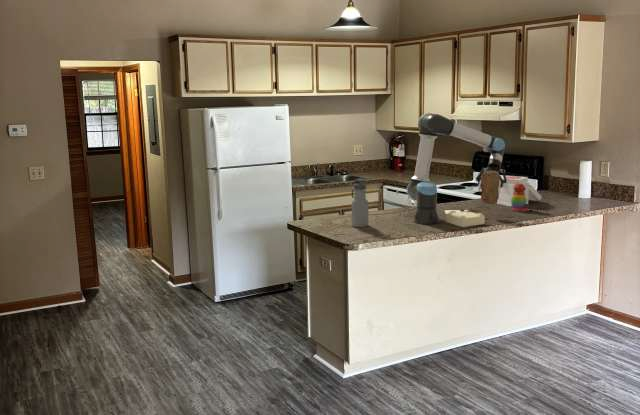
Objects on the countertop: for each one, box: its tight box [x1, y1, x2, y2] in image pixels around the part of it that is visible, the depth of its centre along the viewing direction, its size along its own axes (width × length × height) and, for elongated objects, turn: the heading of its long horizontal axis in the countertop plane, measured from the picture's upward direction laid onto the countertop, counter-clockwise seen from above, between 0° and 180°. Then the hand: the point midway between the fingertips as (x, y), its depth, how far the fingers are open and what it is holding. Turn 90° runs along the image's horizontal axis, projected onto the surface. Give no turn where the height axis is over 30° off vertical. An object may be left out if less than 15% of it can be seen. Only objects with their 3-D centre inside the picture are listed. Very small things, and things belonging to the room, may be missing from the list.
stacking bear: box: [510, 183, 529, 213], centre depth 399 cm, size 11×10×18 cm
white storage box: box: [496, 175, 542, 207], centre depth 424 cm, size 19×30×18 cm, turn 119°
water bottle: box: [351, 178, 369, 228], centre depth 363 cm, size 10×10×28 cm
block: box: [480, 170, 500, 205], centre depth 375 cm, size 11×8×20 cm
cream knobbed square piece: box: [445, 209, 486, 228], centre depth 366 cm, size 16×16×6 cm
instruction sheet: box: [444, 209, 462, 215], centre depth 397 cm, size 10×14×1 cm
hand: (488, 190), depth 373 cm, fingers closed on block, 11 cm apart
